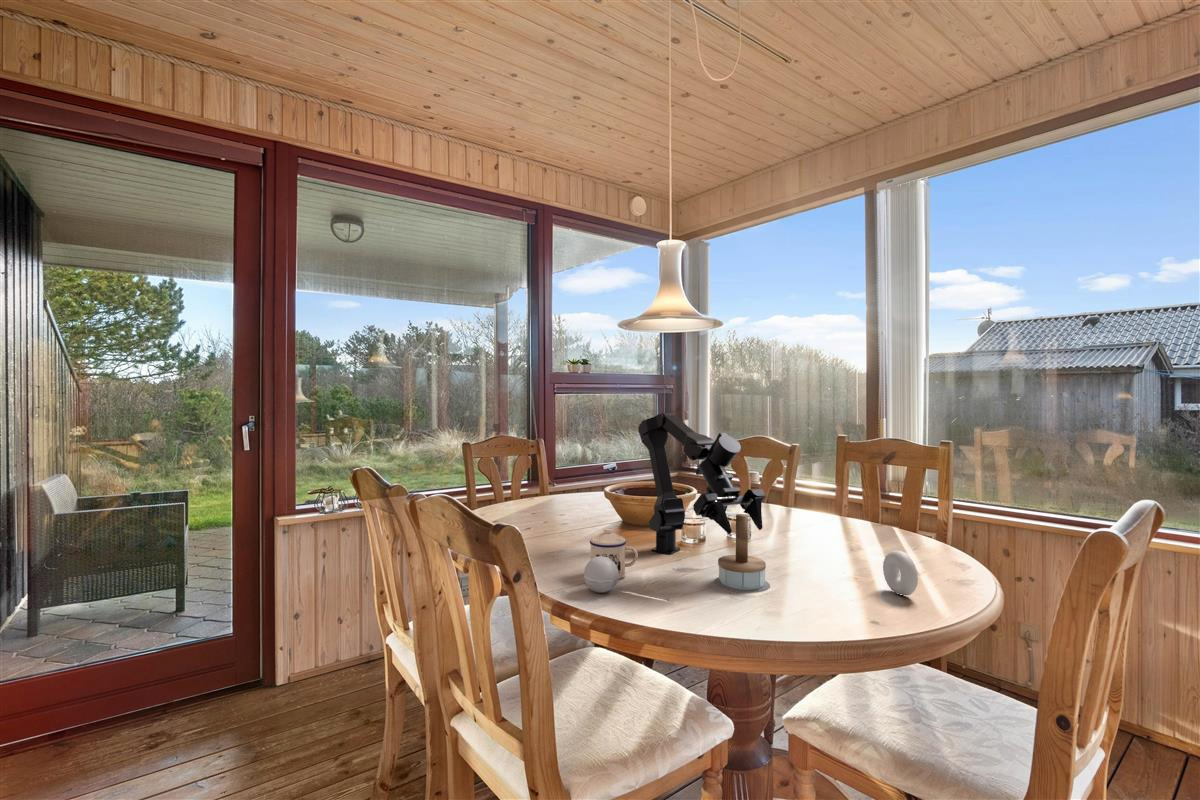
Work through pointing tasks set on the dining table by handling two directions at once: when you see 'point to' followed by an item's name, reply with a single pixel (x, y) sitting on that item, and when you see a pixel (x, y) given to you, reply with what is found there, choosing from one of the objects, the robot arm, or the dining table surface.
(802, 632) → the dining table surface
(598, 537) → the teacup with lid
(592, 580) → the bath bomb
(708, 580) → the dining table surface
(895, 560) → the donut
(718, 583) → the trivet
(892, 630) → the dining table surface
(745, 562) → the lid
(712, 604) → the dining table surface
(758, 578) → the bowl
